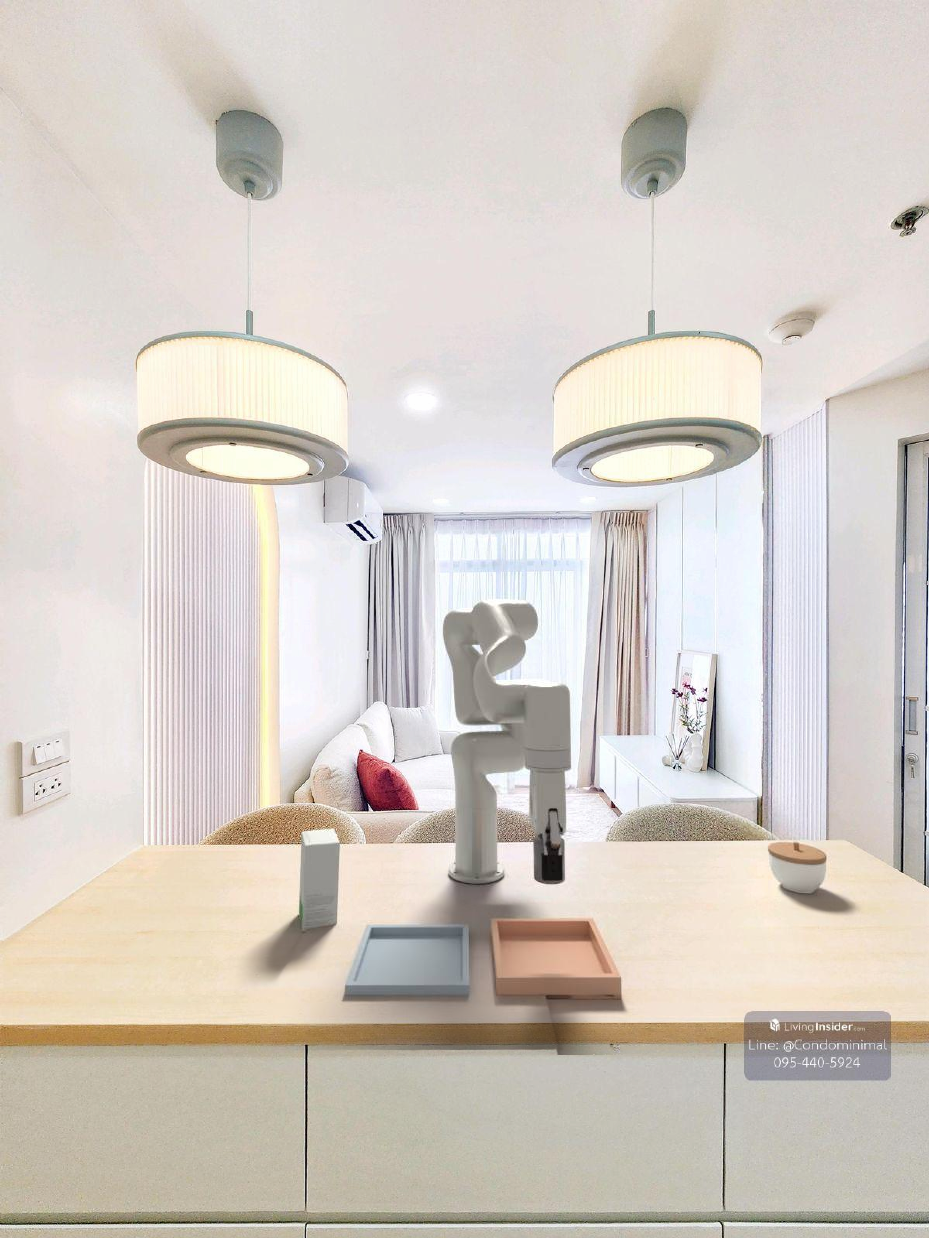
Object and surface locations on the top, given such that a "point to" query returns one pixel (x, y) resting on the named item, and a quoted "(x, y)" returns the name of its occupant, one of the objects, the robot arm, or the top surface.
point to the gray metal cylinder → (538, 863)
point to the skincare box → (319, 878)
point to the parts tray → (411, 961)
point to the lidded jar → (797, 866)
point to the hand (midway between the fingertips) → (549, 871)
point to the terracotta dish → (553, 959)
